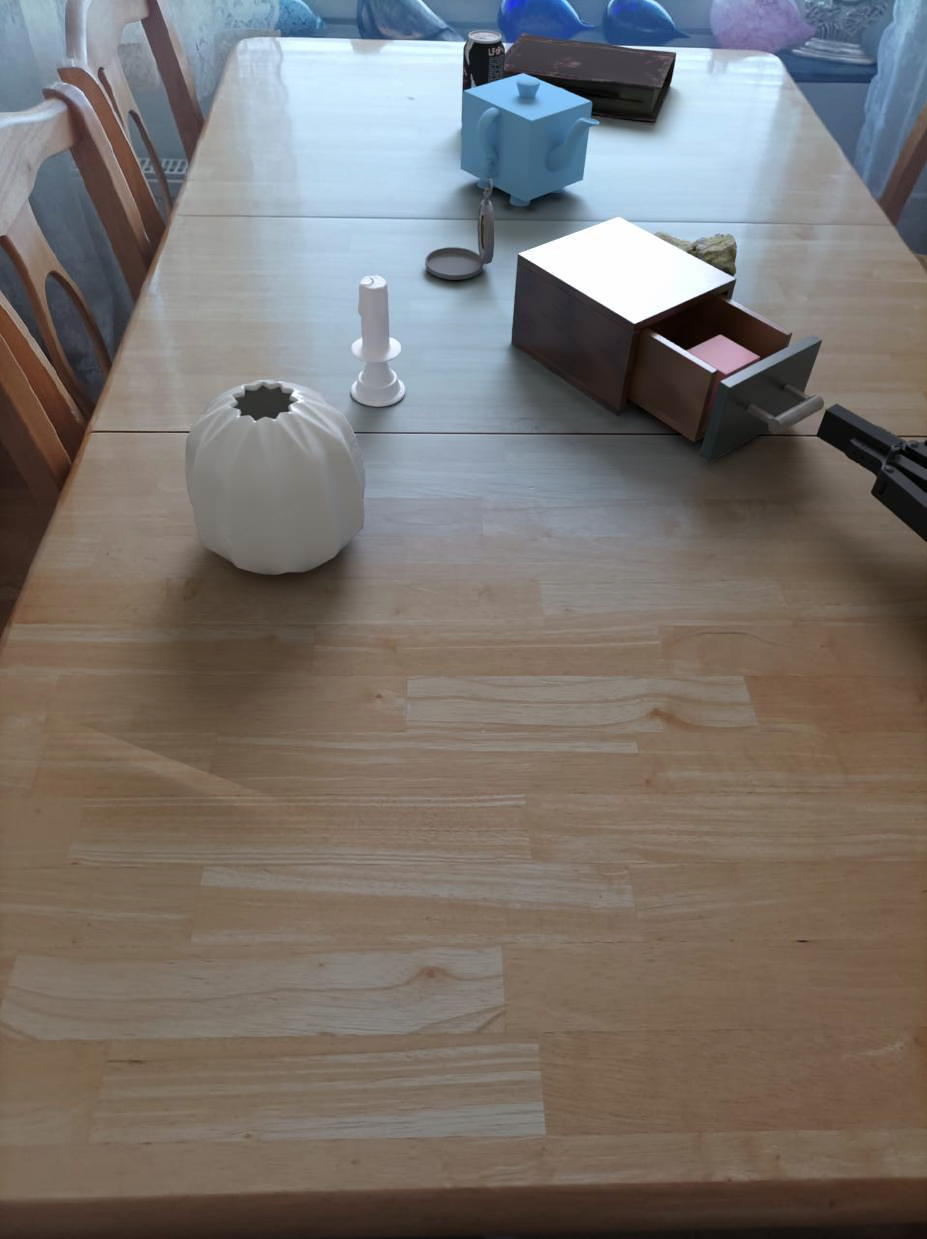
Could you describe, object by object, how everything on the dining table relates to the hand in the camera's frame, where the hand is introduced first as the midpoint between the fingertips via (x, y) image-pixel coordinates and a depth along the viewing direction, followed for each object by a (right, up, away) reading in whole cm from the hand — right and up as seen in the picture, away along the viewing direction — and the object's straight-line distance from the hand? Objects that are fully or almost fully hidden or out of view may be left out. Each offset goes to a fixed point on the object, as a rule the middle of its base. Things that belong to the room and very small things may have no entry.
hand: (826, 419), depth 79 cm
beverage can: (-28, +54, +57) cm, 84 cm away
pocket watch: (-31, +23, +29) cm, 48 cm away
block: (-7, +4, +9) cm, 12 cm away
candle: (-39, +5, +12) cm, 41 cm away
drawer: (-7, +3, +10) cm, 13 cm away
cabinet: (-15, +10, +17) cm, 26 cm away
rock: (-5, +23, +29) cm, 37 cm away
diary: (-12, +65, +67) cm, 95 cm away
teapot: (-21, +38, +43) cm, 61 cm away
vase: (-45, -10, -2) cm, 47 cm away
